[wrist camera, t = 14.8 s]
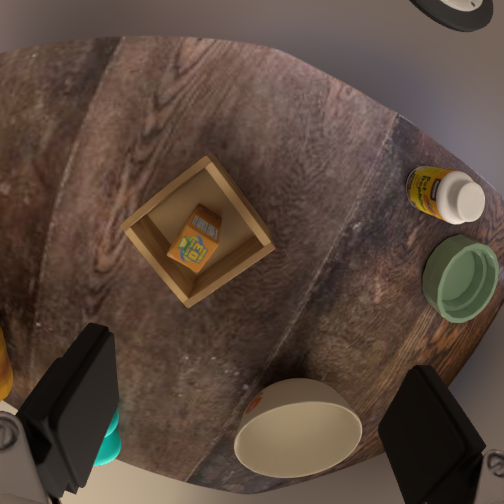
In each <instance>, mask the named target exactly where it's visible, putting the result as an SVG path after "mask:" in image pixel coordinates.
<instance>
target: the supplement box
mask: <svg viewBox="0 0 504 504" xmlns="http://www.w3.org/2000/svg"><path fill="white" fill-rule="evenodd" d="M221 223H222V218H220V217H219V216H217V215H216V214H215V213H213V212H212V211H210V210H209V209H208V208H206V207H205V206H203V205H202V204H200V203H199V204H198V205H197V206H196V207H195V209H194V210H193V212H192V213H191V215H190V216H189V218H188V219H187V220H186V222H185V224H184V225H183V227H182V228H181V229H180V231H179V233H178V234H177V236H176V238H175V239H174V241H173V243H172V245H171V246H170V248H169V250H168V252H167V256H168V257H170V258H172V259H174V260H176V261H178V262H180V263H182V264H184V265H185V266H187V267H189V268H190V269H192V270H194V271H195V272H197V273H198V272H199V271H200V270H201V269H202V267H203V266H204V264H205V263H206V262H207V260H208V259H209V257H210V256H211V255H212V253H213V252H214V250H215V249H216V248H217V246H218V245H219V237H220V230H221Z"/></svg>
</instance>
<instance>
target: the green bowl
mask: <svg viewBox="0 0 504 504" xmlns="http://www.w3.org/2000/svg"><path fill="white" fill-rule="evenodd" d="M498 272H499V265H498V262H497V258H496V254H495V253H494V252H493V251H492V249H491V248H490V247H489V246H488V245H486V244H484V243H482V242H480V241H478V240H475V239H473V238H471V237H468V236H464V235H461V234H460V235H456V236H452V237H449V238H447V239H446V240H444V241H443V242H442V243H441V244H439V245H438V246H437V247H436V248H435V250H434V251H433V253H432V254H431V256H430V257H429V259H428V260H427V263H426V267H425V270H424V273H423V276H422V281H423V293H424V295H425V297H426V300H427V302H428V303H429V304H430V305H431V306H432V307H433V308H434V309H435V310H436V311H437V312H438V313H439V314H441V315H442V316H443V317H444V318H445V319H447V320H448V321H449V322H455V323H463V322H465V321H467V320H470V319H472V318H474V317H475V316H476V315H477V314H478V313H480V312H481V311H482V310H483V309H484V308H485V307H486V305H487V304H488V302H489V301H490V299H491V298H492V296H493V293H494V291H495V288H496V285H497V282H498Z"/></svg>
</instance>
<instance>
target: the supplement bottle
mask: <svg viewBox="0 0 504 504" xmlns="http://www.w3.org/2000/svg"><path fill="white" fill-rule="evenodd" d="M406 194H407V197H408V200H409V201H410V203H411V204H412V205H413V206H414V207H415V208H417V209H418V210H421V211H423V212H425V213H428V214H430V215H433V216H435V217H437V218H440V219H442V220H444V221H446V222H449V223H451V224H461V223H464V222H465V221H466V222H473V221H475V220H477V219H478V218H479V217H480V215H481V214H482V212H483V209H484V205H485V196H484V192H483V190H482V188H481V187H480V186H479V185H478V184H477V183H475V182H473V180H472V179H471V177H470V176H468V175H467V174H466V173H464V172H460V171H455V170H449V169H443V168H437V167H431V166H420V167H418V168H416V169H414V170H413V171H412V172H411V173H410V175H409V177H408V179H407V183H406Z"/></svg>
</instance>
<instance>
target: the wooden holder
mask: <svg viewBox="0 0 504 504" xmlns="http://www.w3.org/2000/svg"><path fill="white" fill-rule="evenodd" d="M199 203H200V204H202V205H203V206H205V207H206V208H208V209H209V210H210V211H212V212H213V213H215V214H216V215H217V216H219V217H220V218H222V223H221V230H220V237H219V245H218V246H217V248H216V249H215V250H214V252H213V253H212V255H211V256H210V257H209V259H208V260H207V262H206V263H205V264H204V266H203V267H202V269H201V270H200V271H199V272H198V273H197V272H195V271H194V270H192V269H190V268H189V267H187V266H185V265H184V264H182V263H180V262H178V261H176V260H174V259H172V258H170V257H168V256H167V252H168V250H169V248H170V246H171V245H172V243H173V241H174V239H175V238H176V236H177V234H178V233H179V231H180V229H181V228H182V227H183V225H184V224H185V222H186V220H187V219H188V218H189V216H190V215H191V213H192V212H193V210H194V209H195V207H196V206H197V205H198V204H199ZM120 227H121V228H122V229H123V230H124V231H125V233H126V235H127V236H128V237H129V238H130V240H131V241H132V242H133V243H134V245H135V246H136V247H137V249H138V250H139V251H140V252H141V254H142V255H143V256H144V257H145V258H146V260H147V261H148V262H149V263H150V265H151V266H152V267H153V268H154V269H155V271H156V272H157V273H158V274H159V276H160V277H161V278H162V279H163V280H164V282H165V283H166V284H167V285H168V286H169V287H170V289H171V290H172V291H173V292H174V293H175V294H176V296H177V297H178V298H179V299H180V300H181V301H182V303H184V305H185V306H186V307H187V308H190V307H191V306H193V305H194V304H196V303H197V302H199V301H200V300H202V299H203V298H204V297H206V296H207V295H209V294H210V293H212V292H213V291H215V290H216V289H218V288H219V287H221V286H222V285H224V284H225V283H227V282H228V281H229V280H231V279H232V278H234V277H235V276H237V275H238V274H240V273H241V272H243V271H244V270H246V269H247V268H248V267H250V266H251V265H253V264H254V263H256V262H257V261H259V260H260V259H262V258H263V257H265V256H266V255H267V254H269V253H270V252H272V251H273V250H275V249H276V247H275V244H274V241H273V238H272V234H271V231H270V230H269V228H268V227H267V225H266V224H265V223H264V221H263V220H262V219H261V217H260V216H259V215H258V213H257V212H256V210H255V209H254V208H253V206H252V205H251V204H250V202H249V201H248V200H247V198H246V197H245V195H244V194H243V193H242V191H241V190H240V189H239V187H238V186H237V185H236V183H235V182H234V181H233V179H232V178H231V177H230V175H229V174H228V173H227V171H226V170H225V169H224V167H223V166H222V165H221V163H220V162H219V161H218V159H217V158H216V157H215V155H214V154H213V155H205V156H204V157H203V158H201V159H200V160H199V161H197V162H196V163H195V164H193V165H192V166H191V167H189V168H188V169H187V170H186V171H184V172H183V173H182V174H180V175H179V176H178V177H177V178H175V179H174V180H173V181H172V182H170V183H169V184H168V185H167V186H165V187H164V188H163V189H162V190H160V191H159V192H158V193H157V194H156V195H154V196H153V197H152V198H151V199H150V200H148V201H147V202H146V203H145V204H144V205H142V206H141V207H140V208H139V209H138V210H137V211H135V212H134V213H133V214H132V215H131V216H130V217H128V218H127V219H126V220H125V221H124V222H123V223H122V224H120Z"/></svg>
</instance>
